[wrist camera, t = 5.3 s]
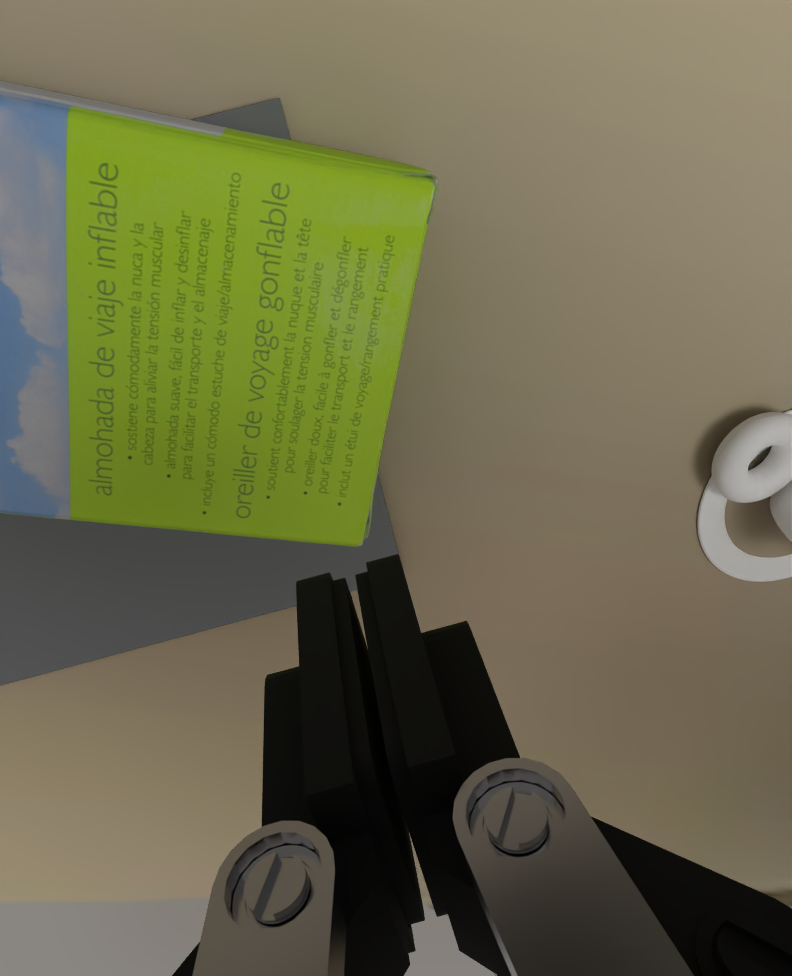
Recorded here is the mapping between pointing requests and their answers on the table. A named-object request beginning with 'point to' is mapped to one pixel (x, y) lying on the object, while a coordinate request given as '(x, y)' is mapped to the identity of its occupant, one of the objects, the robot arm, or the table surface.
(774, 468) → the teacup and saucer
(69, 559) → the mat
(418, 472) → the table surface
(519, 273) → the table surface
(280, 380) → the box
